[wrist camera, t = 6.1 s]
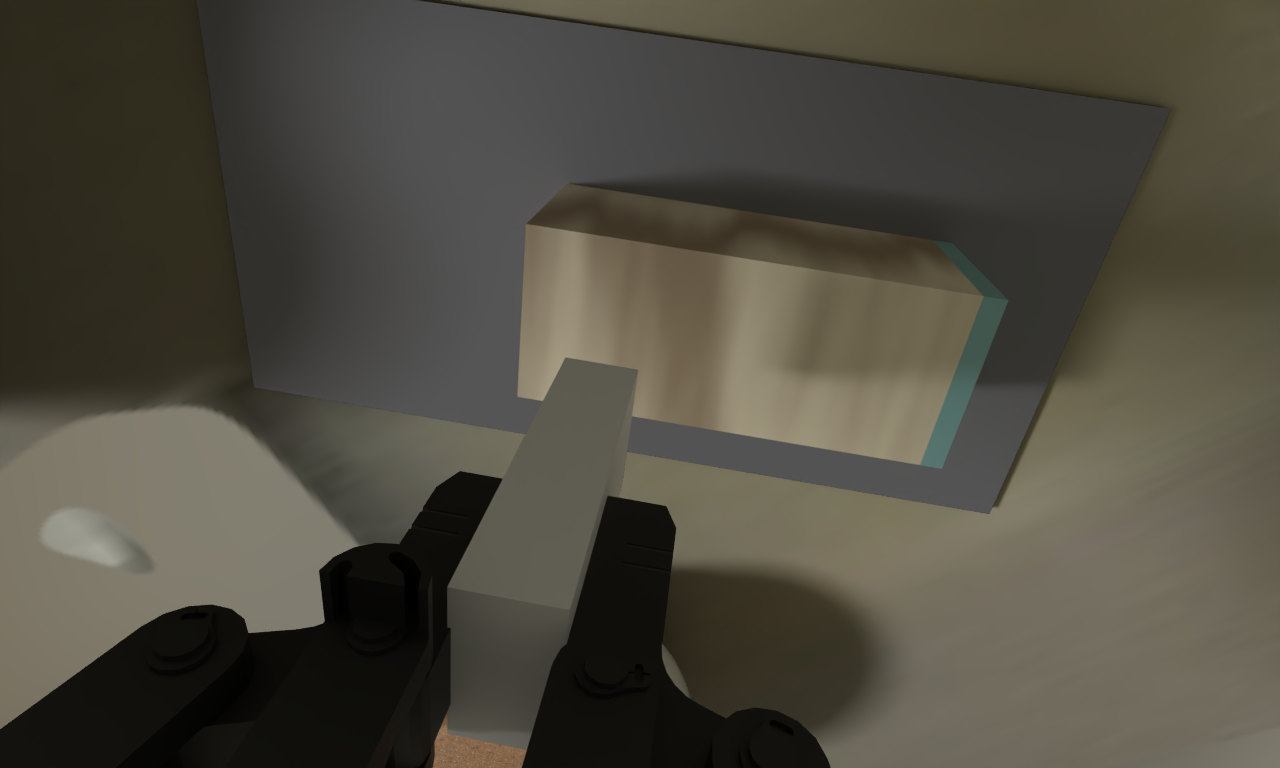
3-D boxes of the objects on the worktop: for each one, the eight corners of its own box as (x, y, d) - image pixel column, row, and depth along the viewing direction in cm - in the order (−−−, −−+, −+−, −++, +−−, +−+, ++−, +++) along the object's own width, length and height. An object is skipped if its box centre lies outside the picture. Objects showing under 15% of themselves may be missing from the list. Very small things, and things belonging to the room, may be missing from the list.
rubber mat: (260, 382, 27) (253, 387, 27) (200, -32, 21) (191, -33, 21) (985, 507, 26) (989, 513, 26) (1163, 107, 20) (1171, 108, 19)
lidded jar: (741, 597, 30) (743, 821, 21) (666, 750, 35) (645, 979, 26) (495, 523, 29) (401, 720, 21) (456, 687, 34) (368, 899, 26)
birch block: (517, 396, 20) (942, 468, 20) (525, 224, 18) (1008, 300, 17) (556, 328, 24) (903, 386, 24) (567, 183, 22) (952, 243, 22)
